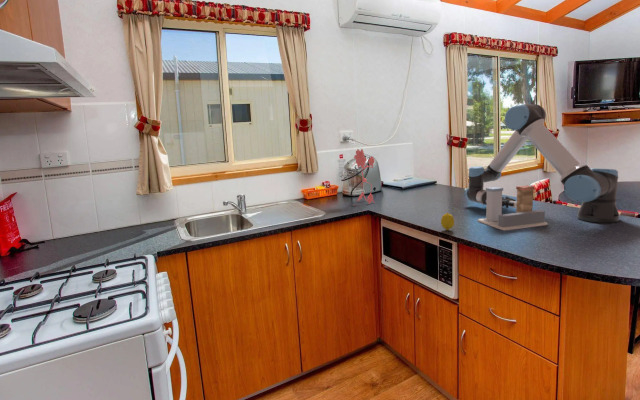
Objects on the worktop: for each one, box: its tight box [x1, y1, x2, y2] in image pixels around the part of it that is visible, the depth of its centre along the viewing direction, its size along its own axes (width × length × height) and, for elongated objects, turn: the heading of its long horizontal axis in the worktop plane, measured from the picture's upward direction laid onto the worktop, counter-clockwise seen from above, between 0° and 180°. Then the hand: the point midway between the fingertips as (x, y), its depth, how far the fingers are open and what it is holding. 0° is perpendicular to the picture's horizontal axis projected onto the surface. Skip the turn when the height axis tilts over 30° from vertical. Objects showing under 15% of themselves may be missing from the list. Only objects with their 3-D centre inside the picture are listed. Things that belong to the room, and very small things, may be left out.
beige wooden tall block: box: [515, 185, 536, 213], centre depth 166 cm, size 5×6×15 cm
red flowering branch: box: [351, 148, 376, 207], centre depth 229 cm, size 15×26×35 cm, turn 26°
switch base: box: [477, 209, 548, 231], centre depth 166 cm, size 18×22×6 cm
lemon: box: [440, 212, 455, 231], centre depth 160 cm, size 6×6×8 cm
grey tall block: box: [485, 186, 504, 221], centre depth 167 cm, size 5×6×15 cm
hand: (520, 205), depth 168 cm, fingers closed
